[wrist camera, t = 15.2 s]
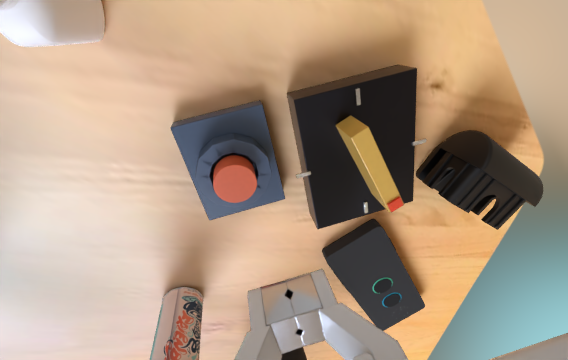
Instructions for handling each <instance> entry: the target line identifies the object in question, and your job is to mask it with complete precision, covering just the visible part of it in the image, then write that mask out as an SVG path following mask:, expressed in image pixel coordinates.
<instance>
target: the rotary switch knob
mask: <svg viewBox="0 0 568 360" xmlns="http://www.w3.org/2000/svg"><path fill="white" fill-rule="evenodd" d="M336 127H337V129H338V131H339V133H340V135H341V137H342V139H343V141H344V142H345V144H346V146H347V148H348V150H349V152H350V154H351V156H352V157H353V159H354V161H355V163H356V165H357V167H358V169H359V171H360V172H361V174H362V176H363V178H364V180H365V182H366V184H367V186H368V188H369V189H370V191H371V193H372V195H373V196H374V197H375V198H376V199H377V200H378V201H379V202H380V203H381V204H382V205H383V207H384V208H385V209H386V210H387V211H388V212H389V213H390V212H393V211H394V210H396V209H398V208H399V207H401V206H403V205H404V202H403V200H402V198H401V196H400V194H399V192H398V189H397V187H396V185H395V183H394V181H393V179H392V176H391V174H390V172H389V170H388V168H387V166H386V163H385V161H384V159H383V157H382V155H381V153H380V151H379V148H378V146H377V144H376V142H375V140H374V138H373V135H372V133H371V131H370V129H369V127H368V126H366V125H365V124H363V123H362V122H360V121H359V120H357V119H356V118H354V117H352V116H349V117H347V118H346V119H344V120H343V121H341V122H340V123H338V124H337V125H336Z"/></svg>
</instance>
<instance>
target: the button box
mask: <svg viewBox="0 0 568 360" xmlns="http://www.w3.org/2000/svg"><path fill="white" fill-rule="evenodd" d="M171 131H172V133H173V135H174V138H175V140H176V142H177V145H178V147H179V150H180V152H181V154H182V157H183V159H184V161H185V164H186V166H187V168H188V171H189V173H190V176H191V178H192V180H193V183H194V185H195V187H196V190H197V192H198V195H199V197H200V199H201V202H202V204H203V206H204V209H205V211H206V214H207V216H208V218H209V220H213V219H216V218H220V217H223V216H227V215H230V214H234V213H237V212H241V211H244V210H248V209H251V208H255V207H258V206H262V205H265V204H269V203H272V202H276V201H279V200H283V199H285V196H284V191H283V187H282V183H281V179H280V175H279V171H278V167H277V162H276V158H275V154H274V150H273V146H272V142H271V138H270V133H269V129H268V125H267V121H266V117H265V113H264V109H263V105H262V103H261V101H260V100H258V101H254V102H250V103H247V104H243V105H239V106H235V107H231V108H227V109H223V110H219V111H215V112H211V113H208V114H204V115H200V116H196V117H192V118H188V119H184V120H180V121H176V122H173V124H172V126H171ZM231 155H238V156H242V157H244V158H246V159H248V160H249V161H250V162H251V164H252V165H253V167H254V171H255V175H256V179H257V187H256V190H255V192H254V193H253V195H252V196H251V197H250V198H248V199H247V200H245V201H242V202H238V203H231V202H227V201H224V200H222V199H221V198H220V197H218V195H217V194H216V193H215V191H214V188H213V174H214V168H215V166H216V164H217V163H218V162H219V161H220V160H221V159H223V158H225V157H227V156H231Z"/></svg>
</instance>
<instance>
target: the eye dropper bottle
mask: <svg viewBox="0 0 568 360" xmlns="http://www.w3.org/2000/svg"><path fill="white" fill-rule="evenodd" d="M0 32H1V33H2V34H3V35H4V36H5V37H6V38H7V39H8V40H10V41H11V42H13V43H15V44H16V45H19V46H23V47H41V46H55V45H68V44H80V43H91V42H98V41H100V40H102V38H103V36H104V32H105V18H104V10H103V5H102V1H101V0H0Z"/></svg>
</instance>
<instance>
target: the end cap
mask: <svg viewBox="0 0 568 360" xmlns="http://www.w3.org/2000/svg"><path fill="white" fill-rule="evenodd" d="M416 176H417V178H419V179H420V180H422V182H423V183H425V184H426V185H427V186H429V187H430V188H432V189H433V188H434V189H436V190H437V191H439V193H438V194H440V195H441V196H442V197H444V198H445V199H446V200H448V201H449V202H451V203H452V204H454V205H456V206H457V207H459V208H461V209H462V210H464V211H466V212H468V213H469V212H470V211H472V212H474V213H475V214H477V215H479V214H480V213H481V212H482V211H483V210H484V209H485V208H486V207H487V206H488V204H489V203H490V202H491V201H492V200H494V199H496V202H495V204H494V206H493V208H492V209H491V210H490V211H489V212H488V213H487V214H486V215H485V216H484V217H483V218H482V219H481V220H482V221H484V222H485V223H487V224H489V225H490V226H492V227H494V228H496V229H497V230H498V229H499V228H500V227H501V226H502V225H503V224H504V223H505V222H506V221H507V220H508V219H509V218H510V217H511V216H512V215H513V214H514V213H515V212H516V211H517V210H518V209H519V208H520V207H521V206H522V205H523V204H524V203H525V202H528V203H529V204H531V205H533V206H536V205H537V204H538V203H539V201H540V199H541V198H542V194H543V184H542V181H541V180H540V178H539V177H538V176H537V175H536V174H535V173H534V172H533V171H532V170H530V169H529V168H528V167H527V166H525V165H524V164H523V163H521V162H520V161H519V160H518V159H516V158H515V157H514V156H513V155H511V154H510V153H509V152H508V151H506V150H505V149H504V148H502V147H501V146H500V145H499V144H497V143H496V142H495V141H494V140H492V139H491V138H490V137H489V136H487V135H486V134H484V133H482V132H479V131H472V130H469V131H463V132H460V133H457V134H455V135H453V136H451V137H449V138H448V139H447V140H445V141H444V142H442V143H441V144H440V145H438V146H437V147H436V148H435V150H434V151H433V152H432V153H431V154H430V156H429V157H428V158H427V159H426V161H425V162H424V163H423V164H422V166H421V167H420V168H419V169H418V171H417V172H416Z"/></svg>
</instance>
